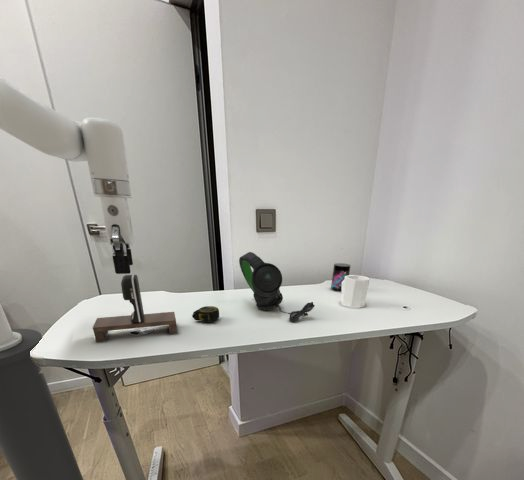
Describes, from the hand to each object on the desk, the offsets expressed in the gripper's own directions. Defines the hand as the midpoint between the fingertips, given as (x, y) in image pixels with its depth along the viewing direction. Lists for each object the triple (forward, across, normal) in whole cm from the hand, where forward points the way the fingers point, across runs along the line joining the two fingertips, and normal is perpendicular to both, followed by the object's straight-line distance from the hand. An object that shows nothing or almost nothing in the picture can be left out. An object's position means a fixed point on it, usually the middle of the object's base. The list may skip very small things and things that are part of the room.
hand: (124, 268), depth 72 cm
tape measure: (+17, +4, -20) cm, 27 cm away
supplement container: (+16, +25, -80) cm, 85 cm away
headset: (+16, +8, -43) cm, 47 cm away
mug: (+16, +8, -74) cm, 76 cm away
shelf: (+17, 0, -1) cm, 17 cm away
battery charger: (+13, 0, -1) cm, 13 cm away
